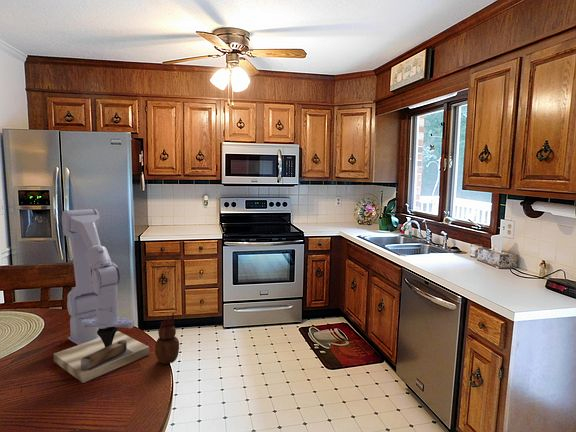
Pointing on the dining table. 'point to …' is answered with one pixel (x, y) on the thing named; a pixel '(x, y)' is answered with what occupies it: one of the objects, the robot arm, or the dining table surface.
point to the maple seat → (73, 356)
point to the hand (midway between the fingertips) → (109, 350)
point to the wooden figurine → (167, 342)
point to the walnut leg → (103, 354)
